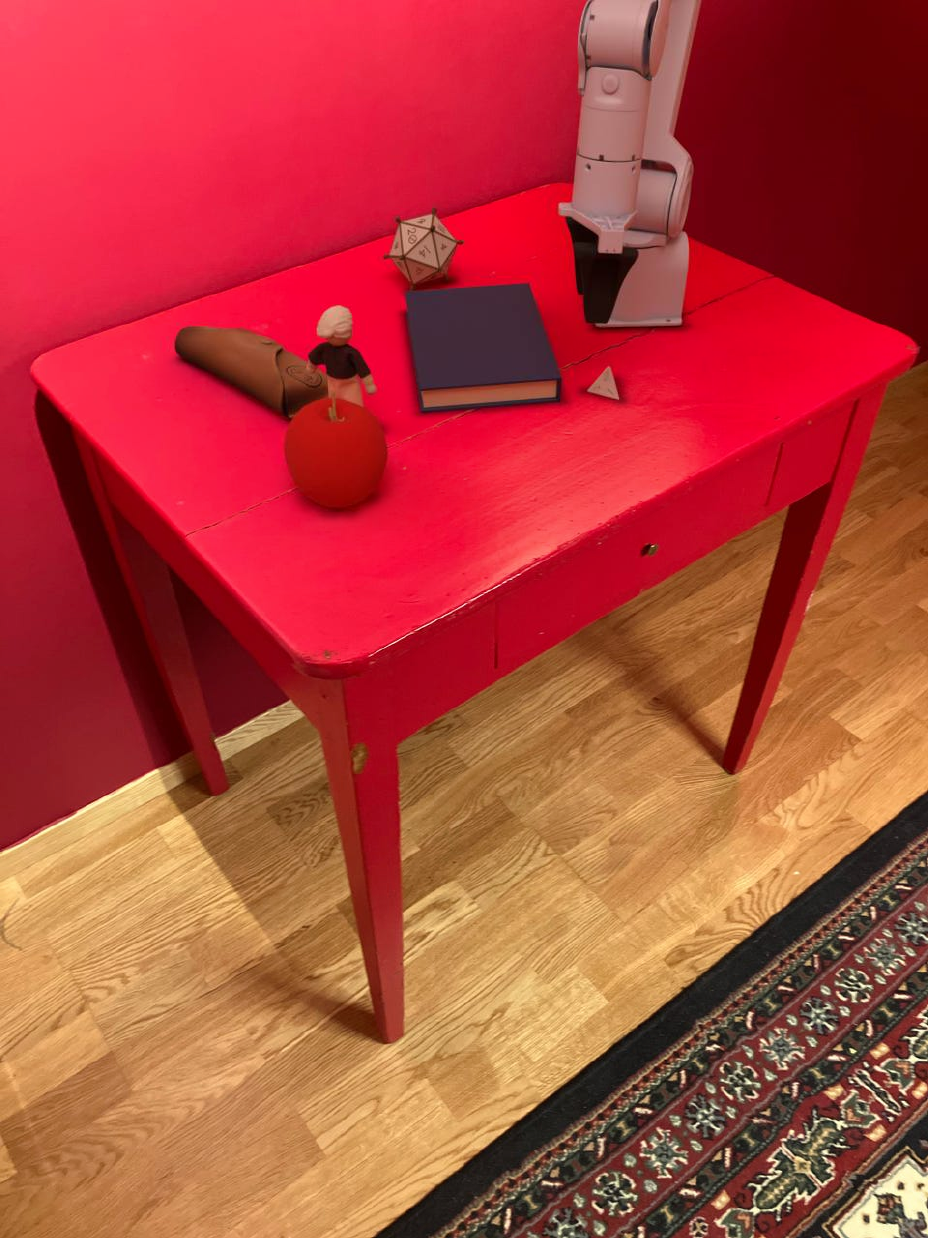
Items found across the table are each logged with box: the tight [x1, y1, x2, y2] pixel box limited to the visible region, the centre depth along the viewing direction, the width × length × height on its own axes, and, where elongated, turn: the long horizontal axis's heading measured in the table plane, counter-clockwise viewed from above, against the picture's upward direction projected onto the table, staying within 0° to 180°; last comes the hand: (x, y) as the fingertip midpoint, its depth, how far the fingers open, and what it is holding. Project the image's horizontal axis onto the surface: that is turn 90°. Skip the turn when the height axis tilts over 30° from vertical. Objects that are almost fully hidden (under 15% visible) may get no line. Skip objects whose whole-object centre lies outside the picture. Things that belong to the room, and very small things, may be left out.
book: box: [404, 282, 563, 414], centre depth 108 cm, size 14×20×3 cm
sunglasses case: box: [173, 325, 329, 419], centre depth 105 cm, size 18×7×7 cm
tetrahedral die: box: [587, 365, 620, 401], centre depth 103 cm, size 4×3×3 cm
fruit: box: [283, 390, 389, 508], centre depth 89 cm, size 9×9×10 cm
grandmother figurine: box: [306, 305, 378, 408], centre depth 95 cm, size 8×4×13 cm, turn 71°
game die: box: [381, 205, 466, 291], centre depth 118 cm, size 9×8×10 cm
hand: (592, 307), depth 97 cm, fingers open, 7 cm apart
